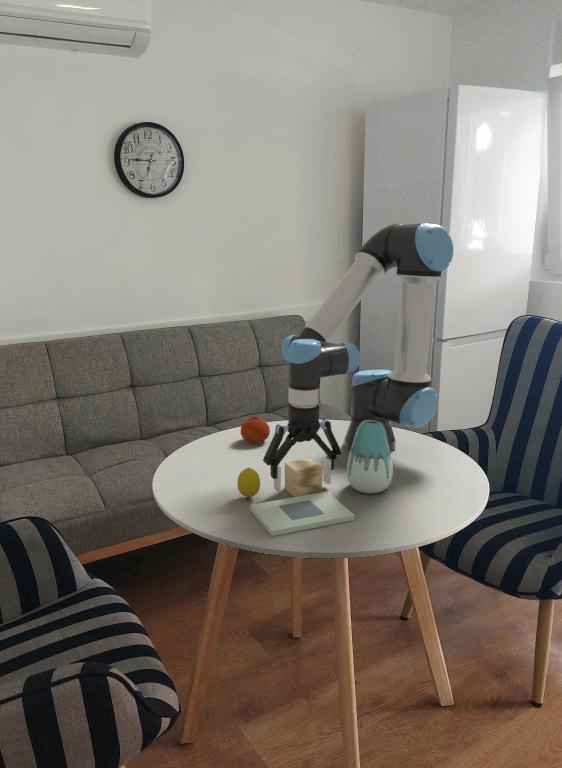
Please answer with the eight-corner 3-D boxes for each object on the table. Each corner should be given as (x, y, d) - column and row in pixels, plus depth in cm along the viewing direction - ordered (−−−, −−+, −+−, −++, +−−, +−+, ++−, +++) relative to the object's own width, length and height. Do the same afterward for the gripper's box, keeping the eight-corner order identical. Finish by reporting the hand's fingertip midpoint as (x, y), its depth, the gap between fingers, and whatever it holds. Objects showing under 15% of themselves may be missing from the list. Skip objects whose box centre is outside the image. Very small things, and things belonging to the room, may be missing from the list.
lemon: (237, 494, 159) (236, 463, 157) (259, 493, 160) (259, 463, 158) (237, 503, 154) (237, 472, 152) (261, 502, 154) (260, 471, 152)
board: (326, 496, 158) (326, 491, 158) (354, 519, 146) (354, 514, 145) (249, 509, 151) (249, 504, 150) (272, 536, 138) (272, 530, 138)
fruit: (262, 448, 191) (262, 422, 189) (235, 444, 195) (235, 418, 193) (275, 439, 199) (275, 414, 197) (249, 435, 202) (249, 411, 200)
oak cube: (309, 484, 165) (310, 458, 164) (321, 494, 159) (322, 467, 158) (284, 488, 163) (284, 462, 161) (296, 499, 157) (296, 472, 155)
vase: (365, 476, 170) (367, 411, 166) (401, 488, 162) (405, 420, 158) (336, 488, 163) (338, 420, 158) (373, 502, 155) (376, 431, 150)
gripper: (342, 395, 163) (339, 473, 169) (249, 404, 154) (250, 487, 159) (356, 402, 157) (353, 484, 162) (261, 413, 147) (261, 499, 152)
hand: (302, 486), depth 161 cm, fingers open, 13 cm apart
